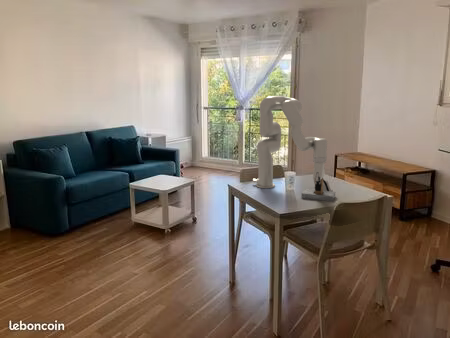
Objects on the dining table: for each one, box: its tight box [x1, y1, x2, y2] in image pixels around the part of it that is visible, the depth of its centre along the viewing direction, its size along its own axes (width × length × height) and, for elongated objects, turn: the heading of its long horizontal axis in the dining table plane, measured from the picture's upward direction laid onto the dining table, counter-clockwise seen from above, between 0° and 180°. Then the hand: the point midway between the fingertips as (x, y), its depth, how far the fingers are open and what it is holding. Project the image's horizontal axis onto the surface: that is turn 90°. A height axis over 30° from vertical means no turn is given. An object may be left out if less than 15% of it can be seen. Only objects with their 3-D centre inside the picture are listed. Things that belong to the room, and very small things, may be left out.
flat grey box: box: [301, 188, 336, 202], centre depth 223 cm, size 18×10×3 cm, turn 65°
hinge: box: [312, 176, 334, 192], centre depth 238 cm, size 17×5×10 cm, turn 10°
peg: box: [314, 178, 323, 194], centre depth 221 cm, size 4×4×10 cm
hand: (318, 189), depth 222 cm, fingers closed on peg, 4 cm apart
